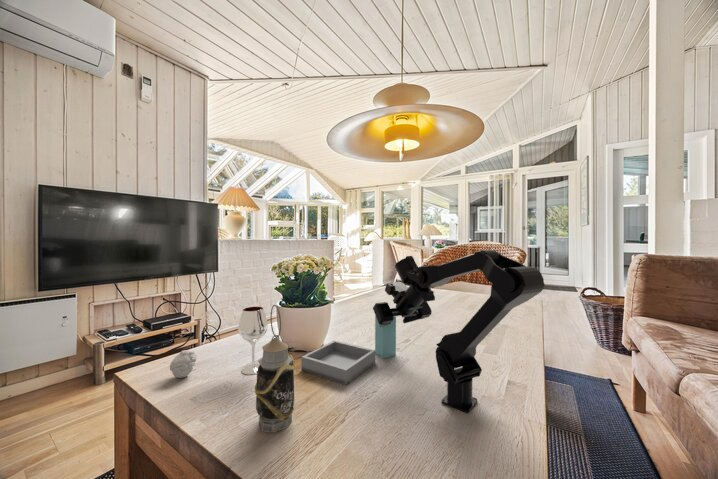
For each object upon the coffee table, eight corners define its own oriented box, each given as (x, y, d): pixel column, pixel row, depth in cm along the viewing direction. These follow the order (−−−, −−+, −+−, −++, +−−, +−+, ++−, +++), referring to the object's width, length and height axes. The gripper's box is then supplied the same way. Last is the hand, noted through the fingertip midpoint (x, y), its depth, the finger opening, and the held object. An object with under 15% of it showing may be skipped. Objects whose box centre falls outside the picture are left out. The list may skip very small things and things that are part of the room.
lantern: (300, 427, 61) (300, 307, 61) (260, 441, 57) (260, 312, 56) (286, 406, 68) (286, 299, 68) (250, 418, 64) (250, 303, 63)
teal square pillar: (395, 355, 98) (396, 312, 97) (383, 358, 95) (383, 314, 95) (387, 350, 102) (387, 309, 102) (375, 352, 100) (375, 311, 100)
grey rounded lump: (201, 372, 85) (201, 348, 85) (180, 384, 78) (180, 358, 78) (185, 369, 87) (185, 346, 87) (163, 380, 80) (163, 355, 80)
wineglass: (233, 369, 87) (233, 309, 86) (259, 361, 93) (259, 304, 92) (246, 379, 81) (246, 314, 81) (272, 369, 87) (272, 308, 87)
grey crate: (346, 385, 78) (346, 370, 78) (301, 370, 86) (301, 356, 86) (375, 363, 91) (375, 350, 91) (334, 352, 100) (334, 340, 100)
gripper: (426, 273, 94) (404, 300, 104) (376, 276, 86) (358, 305, 96) (443, 302, 88) (419, 328, 98) (391, 309, 79) (370, 337, 89)
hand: (392, 324), depth 95 cm, fingers open, 9 cm apart
